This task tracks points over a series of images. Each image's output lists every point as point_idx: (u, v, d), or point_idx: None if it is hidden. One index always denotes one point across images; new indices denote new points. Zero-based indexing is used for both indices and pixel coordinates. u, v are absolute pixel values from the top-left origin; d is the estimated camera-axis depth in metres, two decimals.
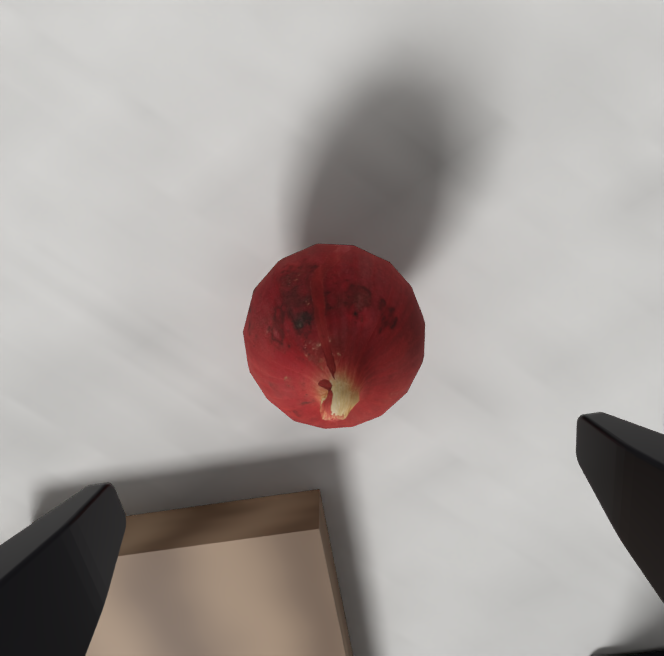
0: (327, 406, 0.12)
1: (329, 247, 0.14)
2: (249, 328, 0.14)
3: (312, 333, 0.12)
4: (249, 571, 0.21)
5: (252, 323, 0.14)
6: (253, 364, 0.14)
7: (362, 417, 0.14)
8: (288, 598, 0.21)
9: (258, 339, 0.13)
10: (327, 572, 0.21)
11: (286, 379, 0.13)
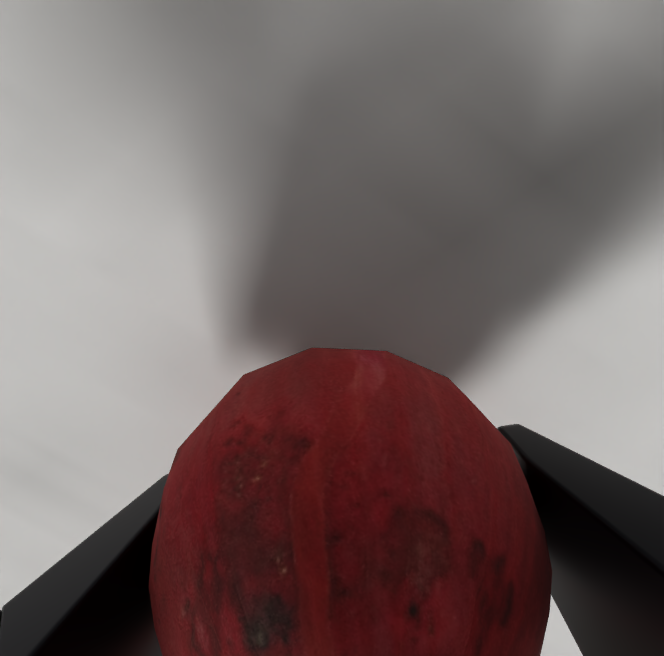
0: None
1: (337, 373, 0.06)
2: (155, 563, 0.06)
3: None
4: None
5: (160, 560, 0.06)
6: (162, 653, 0.06)
7: None
8: None
9: (167, 614, 0.06)
10: None
11: None
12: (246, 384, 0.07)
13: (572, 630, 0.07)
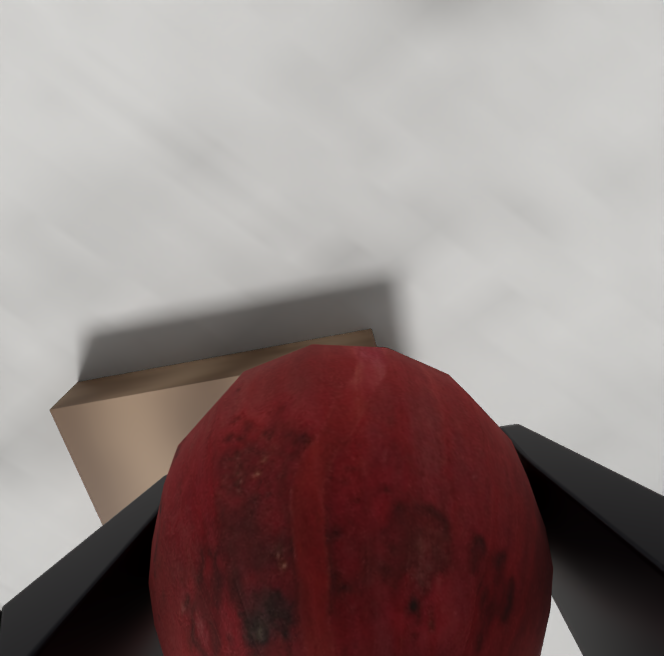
0: None
1: (338, 369, 0.06)
2: (155, 559, 0.06)
3: None
4: None
5: (159, 555, 0.06)
6: (162, 649, 0.06)
7: None
8: None
9: (167, 609, 0.06)
10: None
11: None
12: (246, 380, 0.07)
13: (572, 630, 0.07)
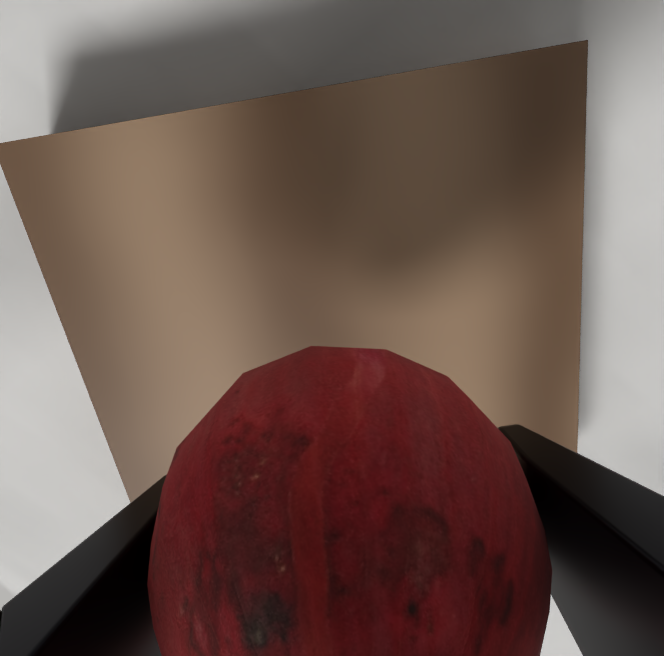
0: None
1: (337, 371, 0.06)
2: (153, 562, 0.06)
3: None
4: (446, 150, 0.11)
5: (159, 558, 0.06)
6: (160, 651, 0.06)
7: None
8: (505, 217, 0.12)
9: (166, 612, 0.06)
10: (583, 154, 0.12)
11: None
12: (245, 382, 0.07)
13: (572, 630, 0.07)
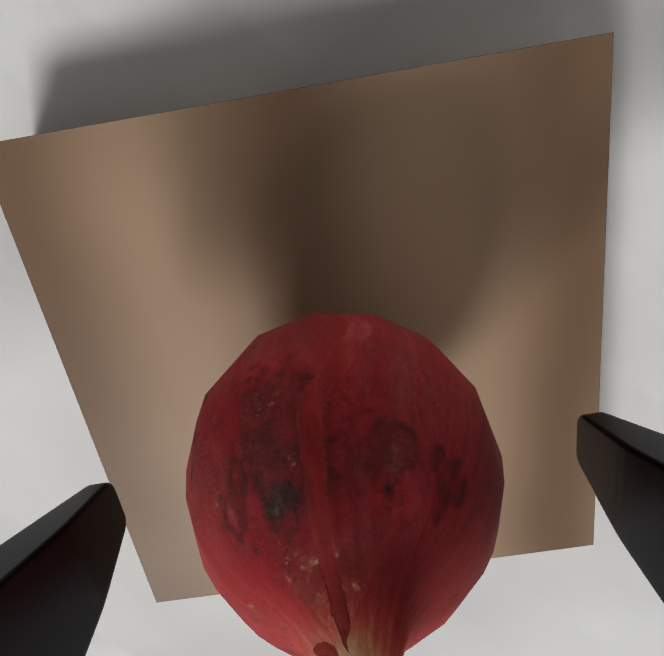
0: None
1: (334, 328, 0.08)
2: (191, 478, 0.08)
3: (301, 534, 0.06)
4: (460, 150, 0.11)
5: (196, 472, 0.08)
6: (198, 545, 0.08)
7: None
8: (522, 223, 0.11)
9: (203, 509, 0.07)
10: (606, 156, 0.11)
11: (252, 609, 0.06)
12: (260, 340, 0.09)
13: None
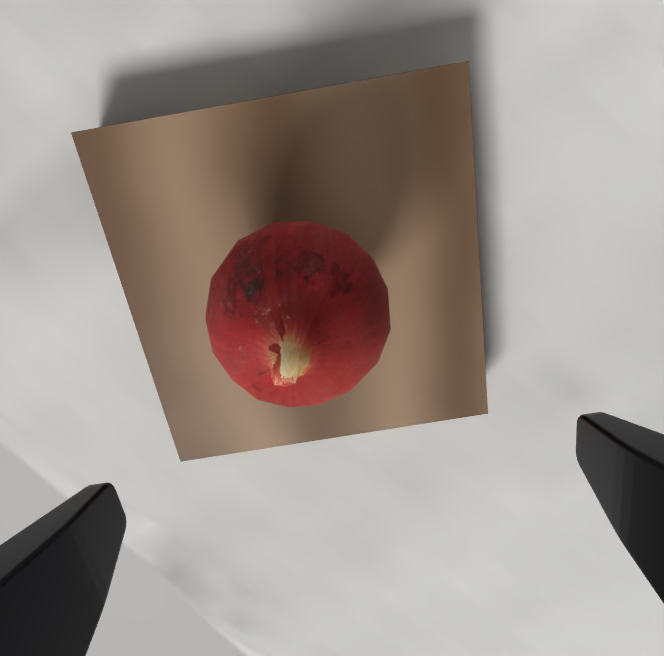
0: (276, 369, 0.11)
1: (286, 222, 0.14)
2: (208, 306, 0.14)
3: (262, 299, 0.12)
4: (378, 135, 0.17)
5: (211, 300, 0.14)
6: (212, 341, 0.14)
7: (323, 389, 0.13)
8: (421, 181, 0.18)
9: (215, 314, 0.13)
10: (471, 138, 0.17)
11: (241, 349, 0.12)
12: None
13: None
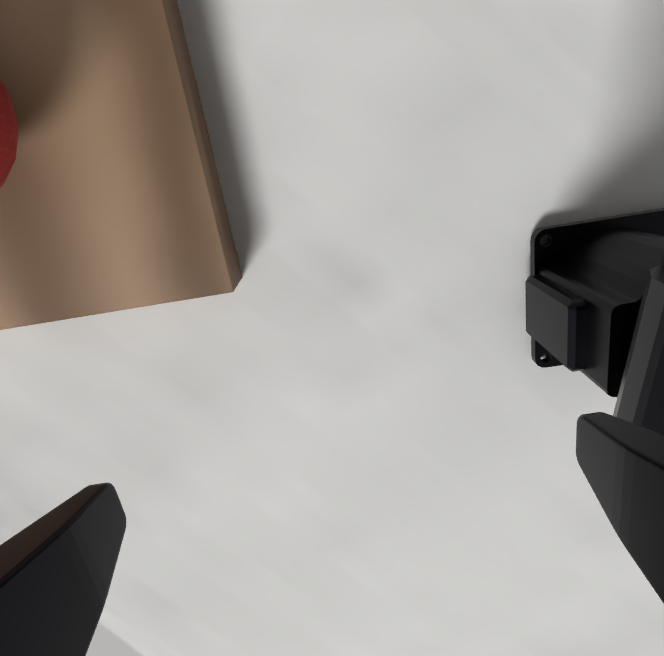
0: None
1: None
2: None
3: None
4: None
5: None
6: None
7: None
8: (100, 2, 0.16)
9: None
10: None
11: None
12: None
13: None
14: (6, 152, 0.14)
